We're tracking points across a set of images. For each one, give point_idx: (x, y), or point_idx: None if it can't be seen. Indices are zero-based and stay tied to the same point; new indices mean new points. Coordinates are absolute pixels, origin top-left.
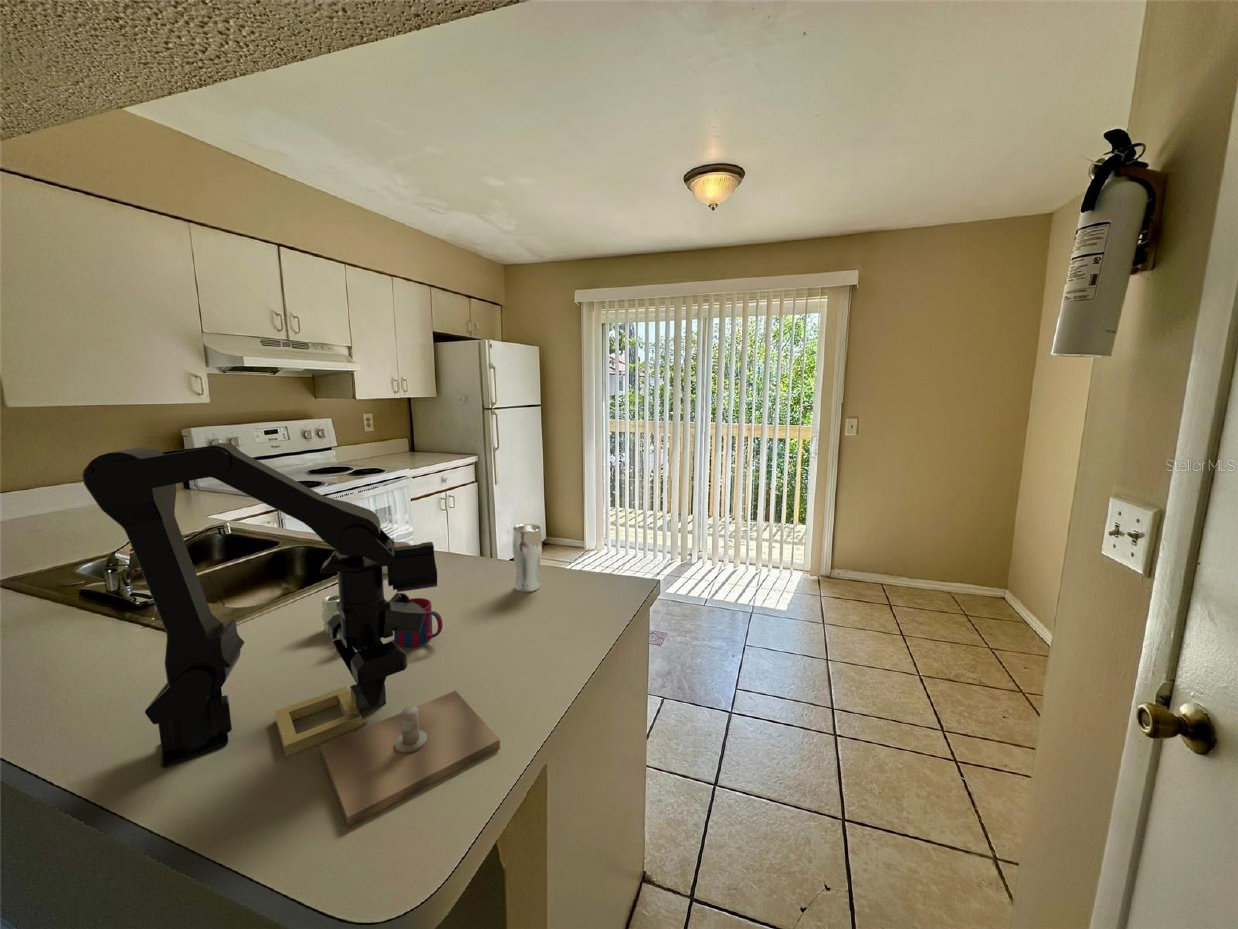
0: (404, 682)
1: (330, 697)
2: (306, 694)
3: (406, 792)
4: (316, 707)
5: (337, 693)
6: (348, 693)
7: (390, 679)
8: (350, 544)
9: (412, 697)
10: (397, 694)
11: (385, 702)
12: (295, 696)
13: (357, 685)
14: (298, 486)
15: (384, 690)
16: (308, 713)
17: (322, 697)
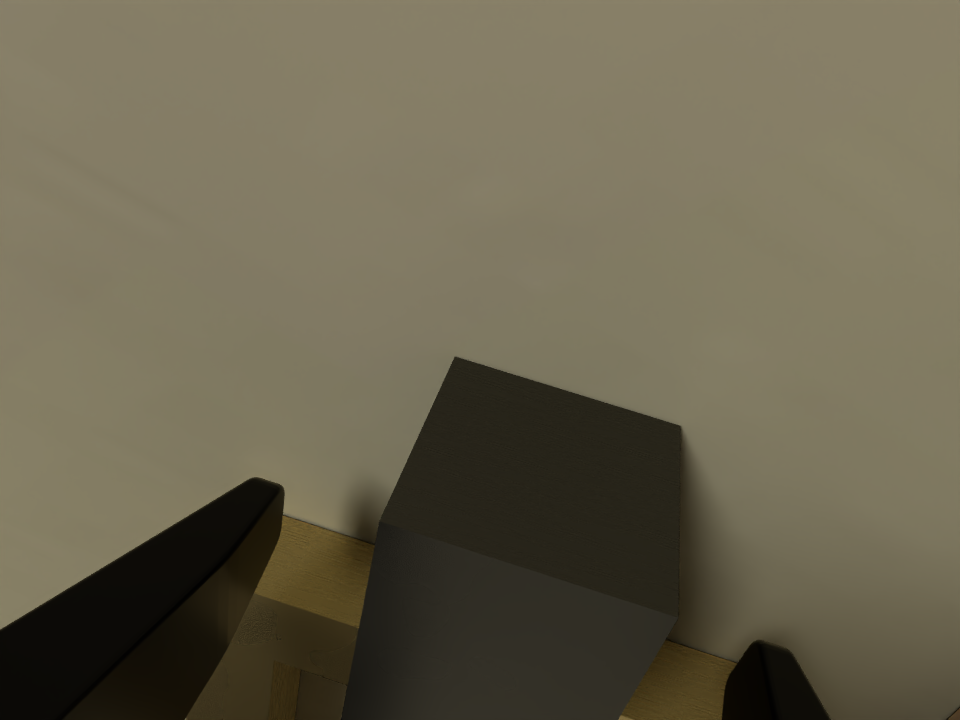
0: (453, 25)
1: (272, 691)
2: (25, 588)
3: None
4: (285, 707)
5: (254, 652)
6: (323, 622)
7: (234, 103)
8: None
9: (904, 192)
10: (636, 257)
11: (676, 439)
12: (12, 620)
13: (383, 710)
14: None
15: (672, 559)
16: (292, 712)
17: (230, 709)
